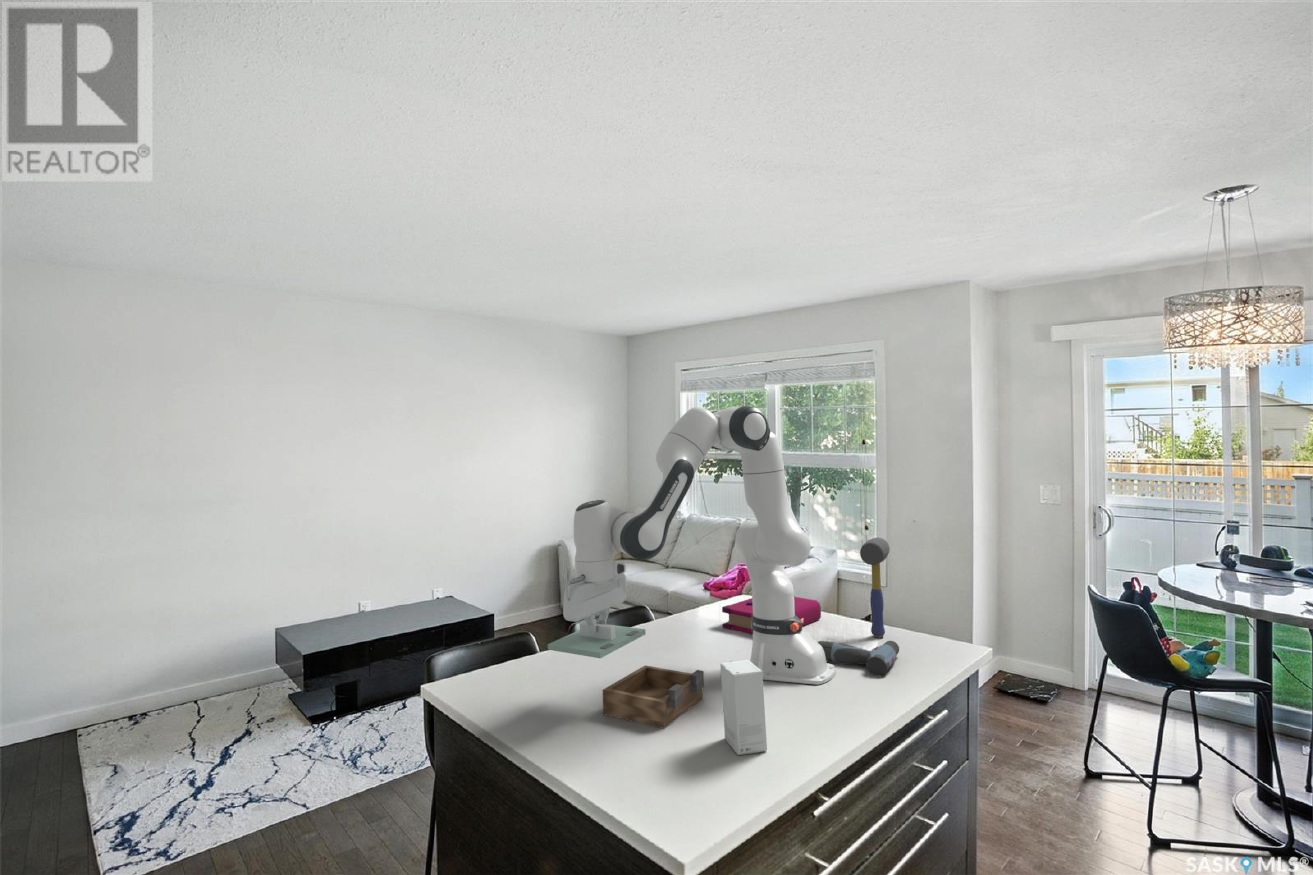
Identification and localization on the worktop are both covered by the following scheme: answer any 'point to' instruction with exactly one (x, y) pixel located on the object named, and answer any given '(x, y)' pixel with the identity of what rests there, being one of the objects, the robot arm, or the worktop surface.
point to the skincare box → (743, 707)
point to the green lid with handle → (596, 640)
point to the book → (744, 610)
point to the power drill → (862, 655)
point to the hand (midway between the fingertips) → (597, 630)
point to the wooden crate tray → (653, 695)
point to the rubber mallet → (876, 580)
